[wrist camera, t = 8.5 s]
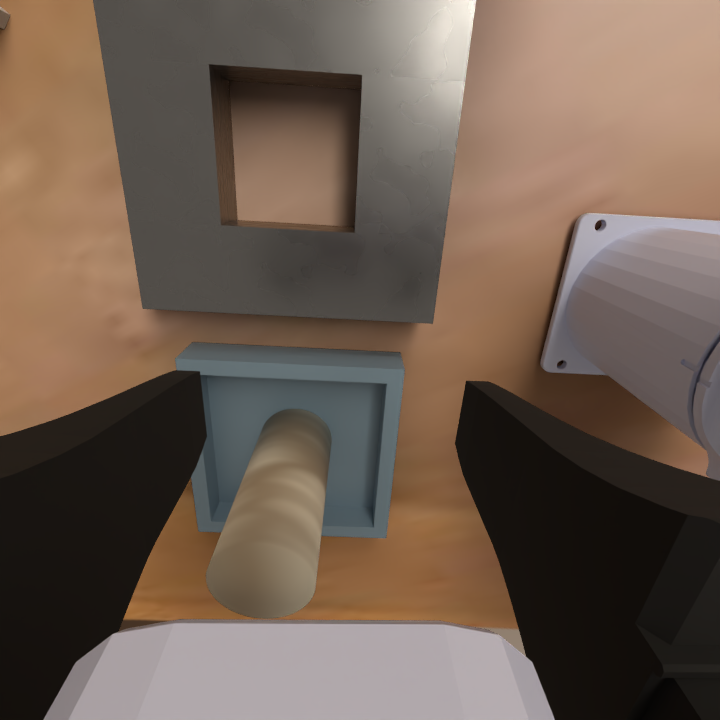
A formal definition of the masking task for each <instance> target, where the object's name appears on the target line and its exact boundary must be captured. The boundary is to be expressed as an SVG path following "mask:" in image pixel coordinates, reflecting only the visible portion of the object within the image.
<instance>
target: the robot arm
mask: <svg viewBox="0 0 720 720" xmlns="http://www.w3.org/2000/svg"><path fill="white" fill-rule="evenodd" d="M599 220H601V222H602V225H601V227H600V228H599V229H598V230H595V224H596V222H597V221H599ZM561 360H563V364H562V365H560V366H557V363H558V362H559V361H561ZM540 365H541V367H542V368H543V369H544V370H545V371H546V372H551V373H572V374H593V375H608V376H609V377H611V378H612V379H613V380H614V381H616V382H617V383H618V384H620V385H621V386H622V387H624V388H625V389H626V390H628V391H629V392H630V393H632V394H633V395H634V396H635V397H637V398H638V399H639V400H641V401H642V402H643V403H645V404H646V405H647V406H649V407H650V408H651V409H652V410H654V411H655V412H656V413H658V414H659V415H660V416H662V417H663V418H664V419H666V420H667V421H668V422H670V423H671V424H672V425H673V426H675V427H676V428H677V429H679V430H680V431H681V432H683V433H684V434H685V435H687V436H688V437H689V438H691V439H692V440H693V441H694V442H696V443H697V444H698V445H700V446H701V447H702V448H704V449H705V450H706V451H707V453H708V458H709V464H708V468H707V472H706V475H707V476H708V477H709V478H708V477H704V476H701V475H697V474H694V473H691V472H688V471H684V470H681V469H678V468H675V467H672V466H669V465H666V464H663V463H660V462H657V461H654V460H651V459H648V458H645V457H643V456H640V455H637V454H635V453H632V452H629V451H627V450H624V449H622V448H620V447H617V446H615V445H612V444H610V443H608V442H605V441H603V440H600V439H598V438H596V437H594V436H591V435H589V434H587V433H585V432H583V431H581V430H579V429H577V428H575V427H573V426H571V425H569V424H567V423H565V422H563V421H561V420H559V419H557V418H555V417H553V416H552V415H550V414H548V413H546V412H544V411H542V410H541V409H539V408H537V407H535V406H534V405H532V404H530V403H528V402H526V401H525V400H523V399H521V398H519V397H518V396H516V395H514V394H512V393H511V392H509V391H507V390H505V389H503V388H501V387H499V386H497V385H495V384H493V383H490V382H484V381H466V385H465V390H464V396H463V402H462V407H461V413H460V419H459V424H458V430H457V435H456V441H455V445H456V449H457V453H458V457H459V461H460V465H461V469H462V472H463V475H464V478H465V480H466V483H467V485H468V488H469V490H470V492H471V495H472V497H473V500H474V502H475V504H476V507H477V509H478V511H479V514H480V516H481V518H482V521H483V523H484V525H485V528H486V530H487V532H488V535H489V537H490V539H491V542H492V544H493V547H494V549H495V552H496V555H497V557H498V560H499V563H500V566H501V569H502V573H503V576H504V579H505V583H506V586H507V589H508V592H509V596H510V599H511V602H512V606H513V610H514V613H515V617H516V620H517V624H518V628H519V631H520V635H521V638H522V642H523V646H524V650H525V654H526V656H524V655H523V654H522V653H521V652H520V651H518V650H517V649H516V648H515V647H514V646H512V645H511V644H510V643H509V642H507V641H506V640H505V639H504V638H503V637H501V636H500V635H498V634H496V633H494V632H491V631H490V630H486V629H481V628H476V627H470V626H465V625H460V624H455V623H450V622H444V621H421V620H222V619H179V620H173V621H168V622H162V623H157V624H151V625H145V626H139V627H133V628H128V629H125V630H122V631H119V629H120V626H121V623H122V621H123V618H124V616H125V613H126V610H127V608H128V605H129V603H130V600H131V598H132V595H133V593H134V590H135V588H136V585H137V583H138V581H139V578H140V576H141V573H142V571H143V569H144V566H145V564H146V561H147V559H148V557H149V555H150V553H151V550H152V548H153V546H154V544H155V542H156V540H157V538H158V537H159V535H160V533H161V531H162V529H163V527H164V526H165V524H166V522H167V520H168V518H169V516H170V515H171V513H172V511H173V509H174V507H175V505H176V504H177V502H178V500H179V498H180V496H181V495H182V493H183V491H184V489H185V487H186V485H187V483H188V482H189V480H190V478H191V476H192V474H193V472H194V470H195V468H196V466H197V463H198V461H199V458H200V455H201V453H202V450H203V447H204V444H205V441H206V438H207V431H206V421H205V412H204V403H203V394H202V385H201V376H200V371H182V370H176V371H172V372H169V373H166V374H164V375H161V376H159V377H156V378H154V379H151V380H149V381H147V382H145V383H142V384H140V385H138V386H136V387H133V388H131V389H129V390H127V391H124V392H122V393H120V394H118V395H115V396H113V397H111V398H108V399H106V400H103V401H101V402H98V403H96V404H93V405H91V406H89V407H86V408H84V409H81V410H79V411H76V412H74V413H71V414H69V415H66V416H63V417H60V418H58V419H55V420H52V421H49V422H46V423H43V424H40V425H37V426H34V427H31V428H27V429H24V430H21V431H18V432H14V433H11V434H8V435H4V436H0V720H720V221H716V220H699V219H683V218H666V217H650V216H633V215H616V214H600V213H585V214H583V215H581V216H580V217H579V218H578V219H577V221H576V223H575V227H574V231H573V235H572V239H571V243H570V247H569V251H568V255H567V259H566V263H565V267H564V271H563V274H562V278H561V282H560V286H559V290H558V294H557V298H556V302H555V306H554V310H553V314H552V318H551V322H550V326H549V330H548V334H547V338H546V342H545V346H544V349H543V353H542V357H541V362H540ZM118 631H119V632H118Z"/></svg>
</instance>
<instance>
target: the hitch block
mask: <svg viewBox="0 0 720 720" xmlns="http://www.w3.org/2000/svg"><path fill="white" fill-rule="evenodd" d="M93 3H94V9H95V15H96V21H97V28H98V34H99V40H100V46H101V52H102V59H103V65H104V71H105V77H106V84H107V90H108V96H109V102H110V108H111V115H112V121H113V127H114V133H115V139H116V146H117V152H118V158H119V164H120V171H121V177H122V183H123V189H124V195H125V202H126V208H127V214H128V220H129V226H130V233H131V239H132V245H133V251H134V258H135V264H136V270H137V276H138V282H139V289H140V295H141V301H142V307H143V309H159V310H178V311H198V312H217V313H237V314H256V315H276V316H295V317H314V318H334V319H353V320H373V321H392V322H411V323H431V324H433V319H434V311H435V304H436V296H437V289H438V281H439V274H440V266H441V259H442V251H443V244H444V236H445V229H446V221H447V214H448V206H449V199H450V191H451V184H452V176H453V169H454V161H455V154H456V146H457V139H458V131H459V124H460V116H461V109H462V101H463V94H464V86H465V79H466V71H467V64H468V56H469V49H470V41H471V34H472V27H473V19H474V12H475V4H476V0H93ZM229 81H244V82H259V83H273V84H288V85H303V86H317V87H332V88H347V89H362V91H361V112H360V132H359V153H358V173H357V194H356V214H355V227H344V226H327V225H310V224H292V223H275V222H258V221H241V220H237V206H236V189H235V172H234V156H233V139H232V123H231V106H230V89H229Z"/></svg>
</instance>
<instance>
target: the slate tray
mask: <svg viewBox="0 0 720 720" xmlns="http://www.w3.org/2000/svg"><path fill="white" fill-rule="evenodd" d="M175 361H176V368H177V370H182V371H200V376H201V385H202V394H203V403H204V412H205V421H206V431H207V438H206V441H205V444H204V447H203V450H202V453H201V455H200V458H199V461H198V463H197V466H196V468H195V470H194V472H193V474H192V476H191V480H192V487H193V494H194V502H195V509H196V517H197V524H198V531H199V532H222V530H223V528H224V525H225V523H226V520H227V517H228V515H229V512H230V510H231V507H232V505H233V502H234V500H235V497H236V495H237V492H238V489H239V487H240V484H241V482H242V479H243V477H244V474H245V472H246V469H247V467H248V464H249V461H250V459H251V456H252V454H253V451H254V449H255V446H256V444H257V441H258V439H259V436H260V433H261V431H262V428H263V426H264V424H265V422H266V421H267V420H268V419H269V418H270V417H271V416H272V415H274V414H275V413H277V412H280V411H282V410H286V409H302V410H306V411H309V412H312V413H314V414H316V415H317V416H319V417H320V418H321V419H322V420H323V421H324V422H325V423H326V424H327V426H328V428H329V430H330V432H331V437H332V443H331V452H330V461H329V470H328V479H327V488H326V497H325V506H324V515H323V524H322V533H321V536H337V537H365V538H386V536H387V527H388V517H389V508H390V499H391V490H392V481H393V472H394V463H395V454H396V445H397V436H398V426H399V417H400V408H401V399H402V390H403V381H404V372H405V369H404V365H403V361H402V357H401V353H400V352H381V351H361V350H341V349H320V348H300V347H280V346H259V345H239V344H219V343H199V342H192V343H191V344H190V345H189V346H188V347H187V348H186V349H185V350H184V351H183V352H182V353H181V354H179V355H178V356H177V357H176V358H175Z"/></svg>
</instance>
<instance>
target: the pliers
mask: <svg viewBox="0 0 720 720" xmlns="http://www.w3.org/2000/svg"><path fill="white" fill-rule="evenodd" d="M9 17H10V14H9V13H8V12H6V11H5V10H4V9H3V8H2V7H0V28H3V29H5V27H6V25H7V22H8V20H9Z"/></svg>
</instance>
